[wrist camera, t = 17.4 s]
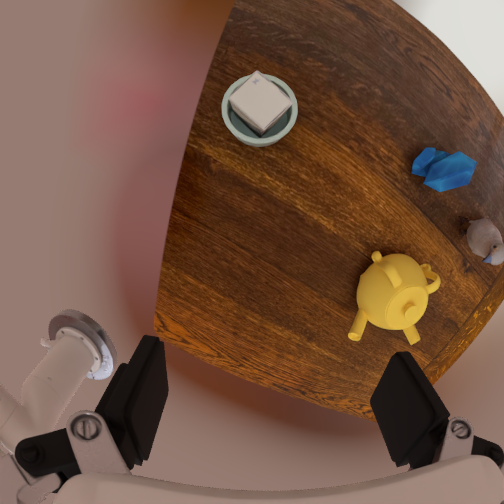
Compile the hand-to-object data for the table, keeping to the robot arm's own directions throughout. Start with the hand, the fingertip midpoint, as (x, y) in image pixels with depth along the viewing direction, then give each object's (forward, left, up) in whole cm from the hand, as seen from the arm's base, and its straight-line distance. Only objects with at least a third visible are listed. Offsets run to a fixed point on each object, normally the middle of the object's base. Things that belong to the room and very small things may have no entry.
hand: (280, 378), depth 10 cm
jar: (-2, +14, -33) cm, 36 cm away
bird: (+38, +4, -33) cm, 50 cm away
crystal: (+27, +13, -33) cm, 44 cm away
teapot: (+23, -10, -33) cm, 41 cm away
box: (-2, +14, -32) cm, 35 cm away
